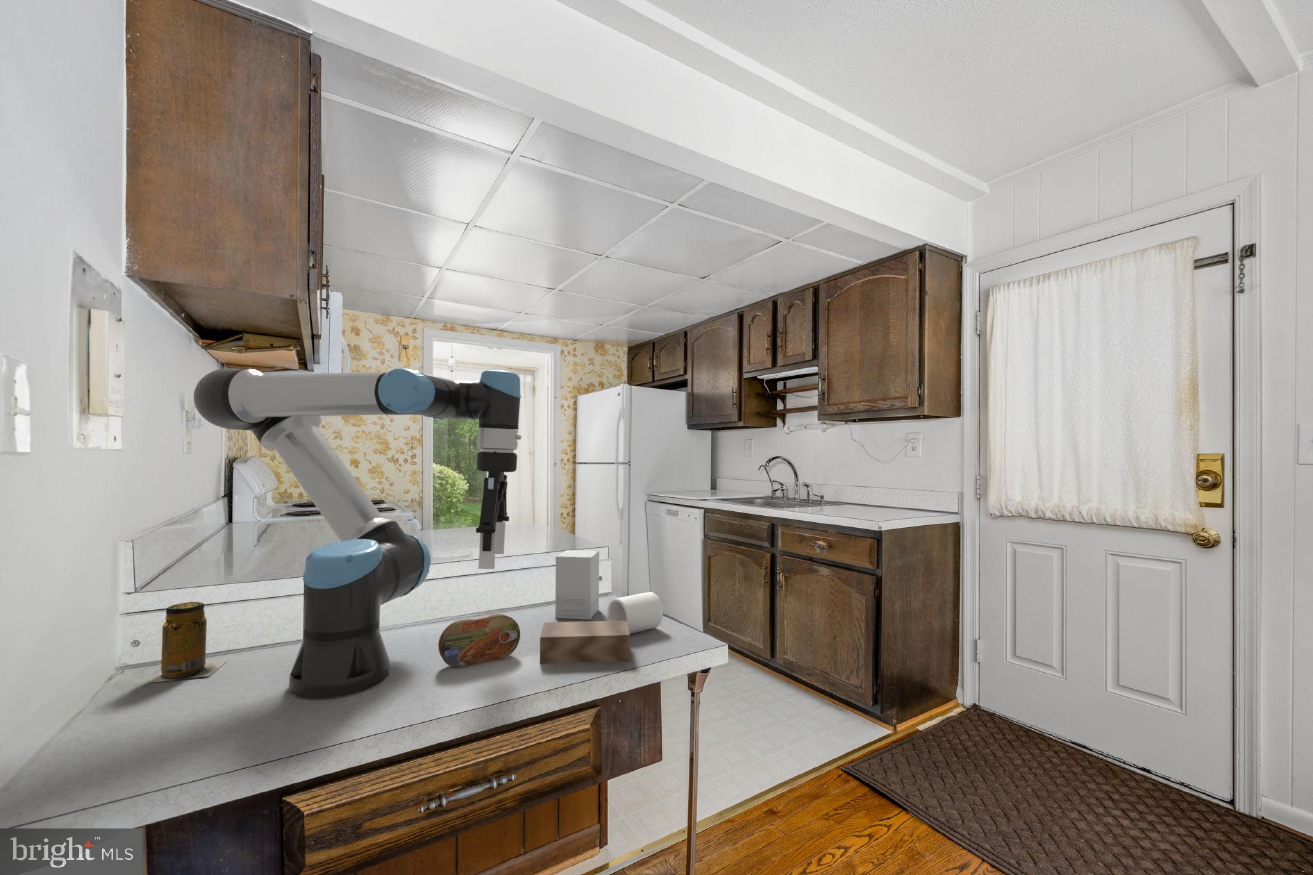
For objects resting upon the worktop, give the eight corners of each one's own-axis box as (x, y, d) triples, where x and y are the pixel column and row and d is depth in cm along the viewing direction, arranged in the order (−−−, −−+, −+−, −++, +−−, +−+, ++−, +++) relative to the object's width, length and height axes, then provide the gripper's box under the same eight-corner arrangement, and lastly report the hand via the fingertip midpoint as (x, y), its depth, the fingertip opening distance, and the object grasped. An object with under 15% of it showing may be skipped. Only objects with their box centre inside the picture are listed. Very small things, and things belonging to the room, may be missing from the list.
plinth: (539, 663, 105) (540, 637, 105) (543, 647, 114) (543, 622, 114) (629, 660, 107) (629, 634, 107) (626, 644, 116) (626, 620, 116)
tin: (440, 672, 101) (441, 625, 101) (436, 666, 104) (437, 621, 104) (520, 656, 109) (521, 613, 109) (515, 651, 112) (515, 609, 112)
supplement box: (599, 609, 141) (600, 550, 141) (590, 620, 132) (591, 557, 133) (565, 607, 142) (566, 549, 143) (553, 618, 134) (555, 555, 134)
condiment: (170, 667, 101) (172, 601, 102) (225, 662, 104) (227, 597, 104) (148, 683, 94) (150, 612, 95) (208, 677, 97) (210, 608, 97)
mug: (663, 631, 125) (663, 595, 126) (627, 640, 119) (628, 603, 119) (631, 618, 135) (631, 585, 135) (596, 626, 128) (597, 591, 129)
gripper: (510, 453, 96) (503, 576, 96) (523, 450, 121) (518, 548, 121) (464, 451, 95) (458, 575, 95) (487, 449, 120) (482, 548, 120)
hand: (492, 560), depth 108 cm, fingers open, 13 cm apart
